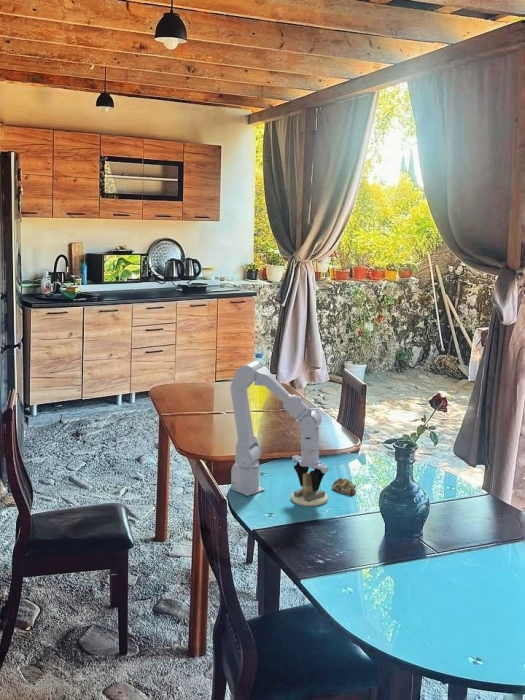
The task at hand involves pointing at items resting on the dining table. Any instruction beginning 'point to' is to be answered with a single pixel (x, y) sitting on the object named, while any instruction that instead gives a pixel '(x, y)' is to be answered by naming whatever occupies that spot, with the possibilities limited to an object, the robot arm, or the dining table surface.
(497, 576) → the dining table surface
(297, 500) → the clip base
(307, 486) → the wooden block
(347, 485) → the mineral rock
